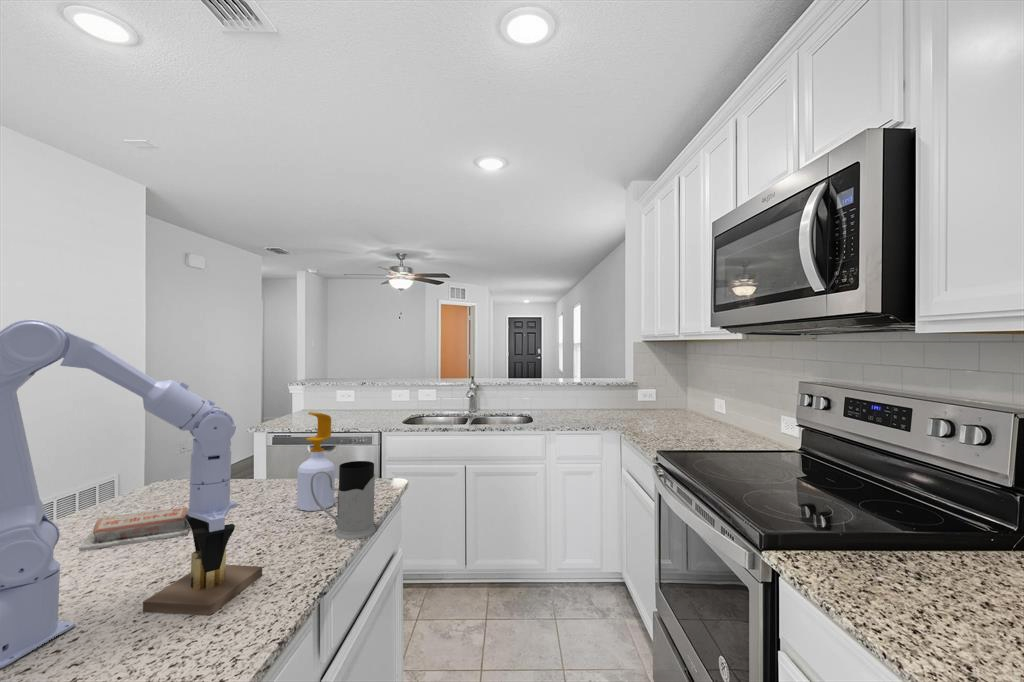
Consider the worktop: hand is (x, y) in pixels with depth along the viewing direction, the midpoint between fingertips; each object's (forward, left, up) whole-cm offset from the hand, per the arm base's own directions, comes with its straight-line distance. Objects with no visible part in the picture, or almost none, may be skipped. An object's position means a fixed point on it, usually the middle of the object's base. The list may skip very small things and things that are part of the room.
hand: (208, 562), depth 78 cm
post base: (0, 0, -5) cm, 5 cm away
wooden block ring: (0, 0, -3) cm, 3 cm away
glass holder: (+28, -11, -5) cm, 30 cm away
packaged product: (+21, +32, -6) cm, 38 cm away
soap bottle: (+44, +4, -5) cm, 44 cm away
